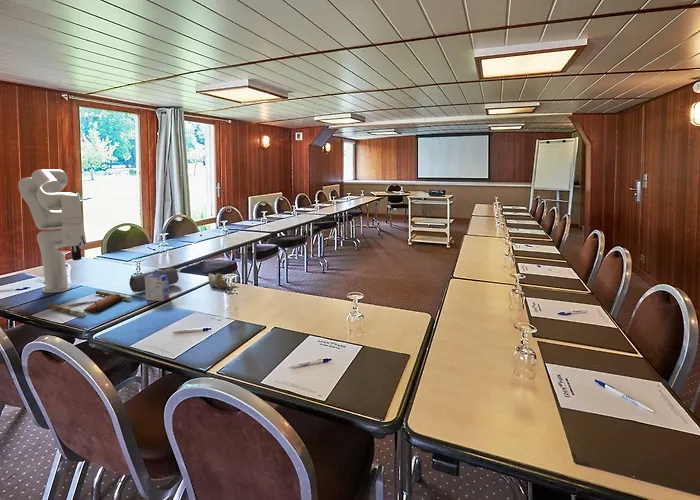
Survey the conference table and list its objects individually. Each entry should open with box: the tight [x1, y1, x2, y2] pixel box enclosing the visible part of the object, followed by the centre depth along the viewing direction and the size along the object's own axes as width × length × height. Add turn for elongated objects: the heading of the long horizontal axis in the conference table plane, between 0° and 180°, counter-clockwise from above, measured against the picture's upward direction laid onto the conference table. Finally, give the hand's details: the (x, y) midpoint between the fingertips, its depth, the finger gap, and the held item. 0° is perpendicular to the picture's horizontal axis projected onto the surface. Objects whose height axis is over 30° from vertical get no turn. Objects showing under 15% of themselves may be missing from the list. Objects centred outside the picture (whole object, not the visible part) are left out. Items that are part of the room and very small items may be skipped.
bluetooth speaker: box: [129, 268, 180, 293], centre depth 220 cm, size 23×9×10 cm, turn 144°
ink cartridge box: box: [145, 269, 170, 302], centre depth 205 cm, size 10×6×14 cm, turn 79°
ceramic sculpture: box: [208, 272, 238, 290], centre depth 227 cm, size 11×9×15 cm
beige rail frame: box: [47, 289, 132, 318], centre depth 196 cm, size 23×24×2 cm
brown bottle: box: [82, 293, 123, 314], centre depth 194 cm, size 18×7×7 cm
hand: (77, 259), depth 195 cm, fingers closed
